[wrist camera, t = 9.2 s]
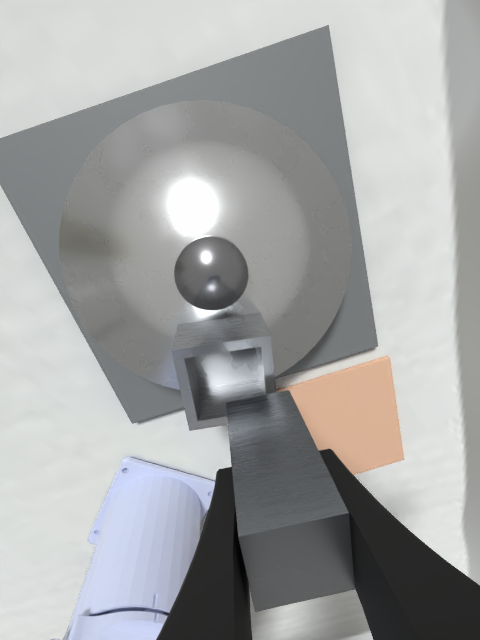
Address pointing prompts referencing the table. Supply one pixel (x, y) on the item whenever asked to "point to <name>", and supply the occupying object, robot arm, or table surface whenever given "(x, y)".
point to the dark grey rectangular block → (286, 505)
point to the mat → (353, 414)
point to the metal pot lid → (205, 251)
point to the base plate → (205, 84)
